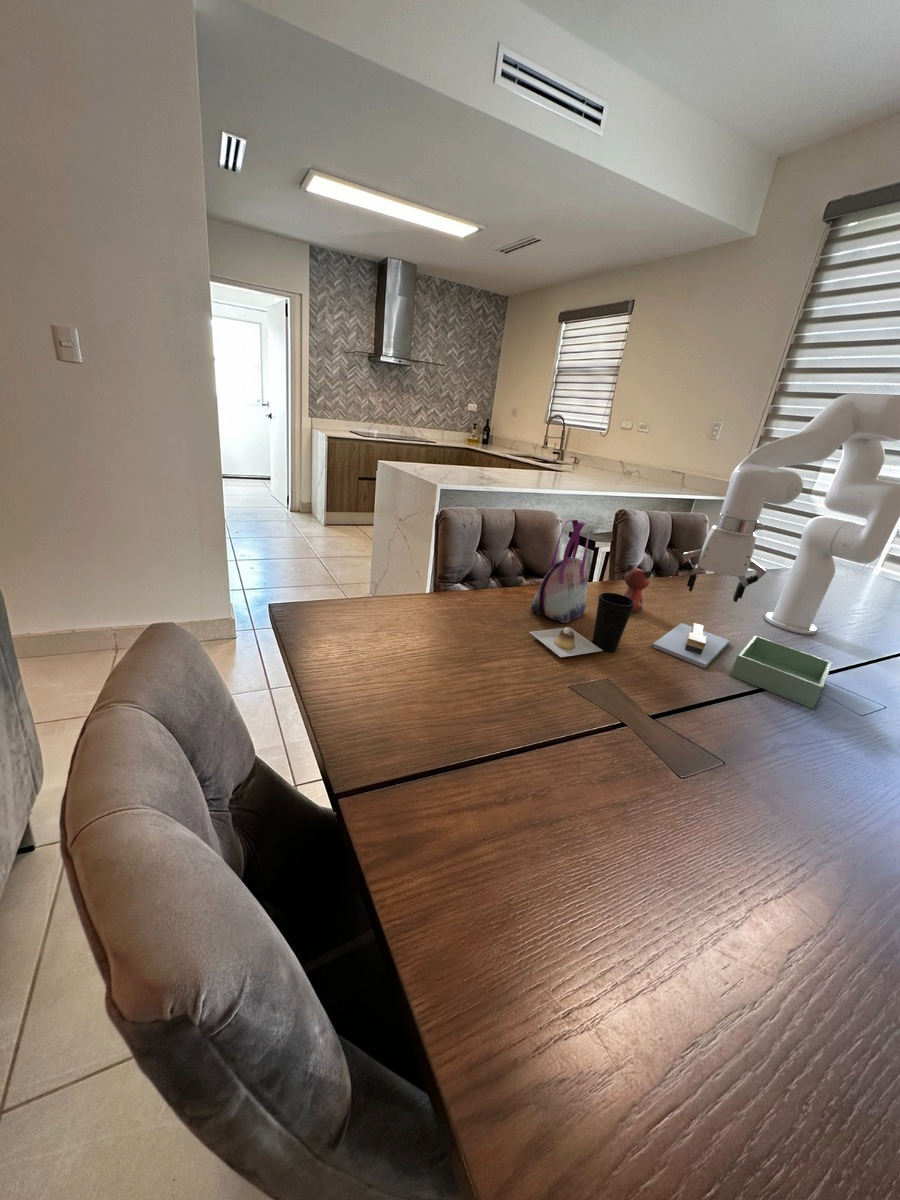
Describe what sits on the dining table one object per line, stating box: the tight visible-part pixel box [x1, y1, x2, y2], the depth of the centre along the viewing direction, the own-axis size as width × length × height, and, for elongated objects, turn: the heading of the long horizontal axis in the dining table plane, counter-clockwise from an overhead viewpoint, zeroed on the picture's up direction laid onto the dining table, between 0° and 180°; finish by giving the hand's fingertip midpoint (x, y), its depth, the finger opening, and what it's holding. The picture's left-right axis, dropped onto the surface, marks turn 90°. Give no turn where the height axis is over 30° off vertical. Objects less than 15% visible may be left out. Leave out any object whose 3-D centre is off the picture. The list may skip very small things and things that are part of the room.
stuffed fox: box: [623, 563, 654, 613], centre depth 131 cm, size 8×11×12 cm
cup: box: [592, 592, 635, 653], centre depth 108 cm, size 8×8×12 cm
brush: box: [685, 622, 706, 654], centre depth 114 cm, size 12×4×3 cm, turn 152°
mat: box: [651, 622, 731, 669], centre depth 116 cm, size 20×12×1 cm, turn 137°
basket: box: [729, 635, 833, 709], centre depth 104 cm, size 16×15×5 cm
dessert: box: [529, 626, 604, 658], centre depth 107 cm, size 12×12×5 cm
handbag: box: [531, 519, 590, 624], centre depth 120 cm, size 21×10×25 cm, turn 135°
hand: (712, 594), depth 112 cm, fingers open, 9 cm apart
